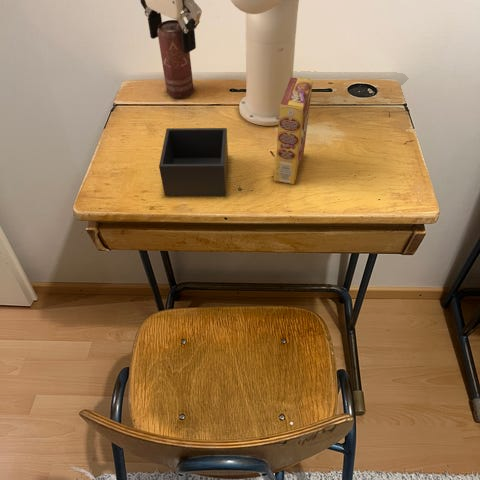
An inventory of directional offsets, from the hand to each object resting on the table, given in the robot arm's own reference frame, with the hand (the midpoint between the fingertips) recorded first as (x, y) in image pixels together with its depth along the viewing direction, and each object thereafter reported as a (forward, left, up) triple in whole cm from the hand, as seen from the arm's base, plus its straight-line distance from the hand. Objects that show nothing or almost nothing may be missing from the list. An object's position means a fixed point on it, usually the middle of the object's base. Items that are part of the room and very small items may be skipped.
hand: (173, 43), depth 97 cm
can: (0, 0, -11) cm, 11 cm away
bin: (+19, +24, -10) cm, 33 cm away
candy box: (+6, +36, -11) cm, 38 cm away
